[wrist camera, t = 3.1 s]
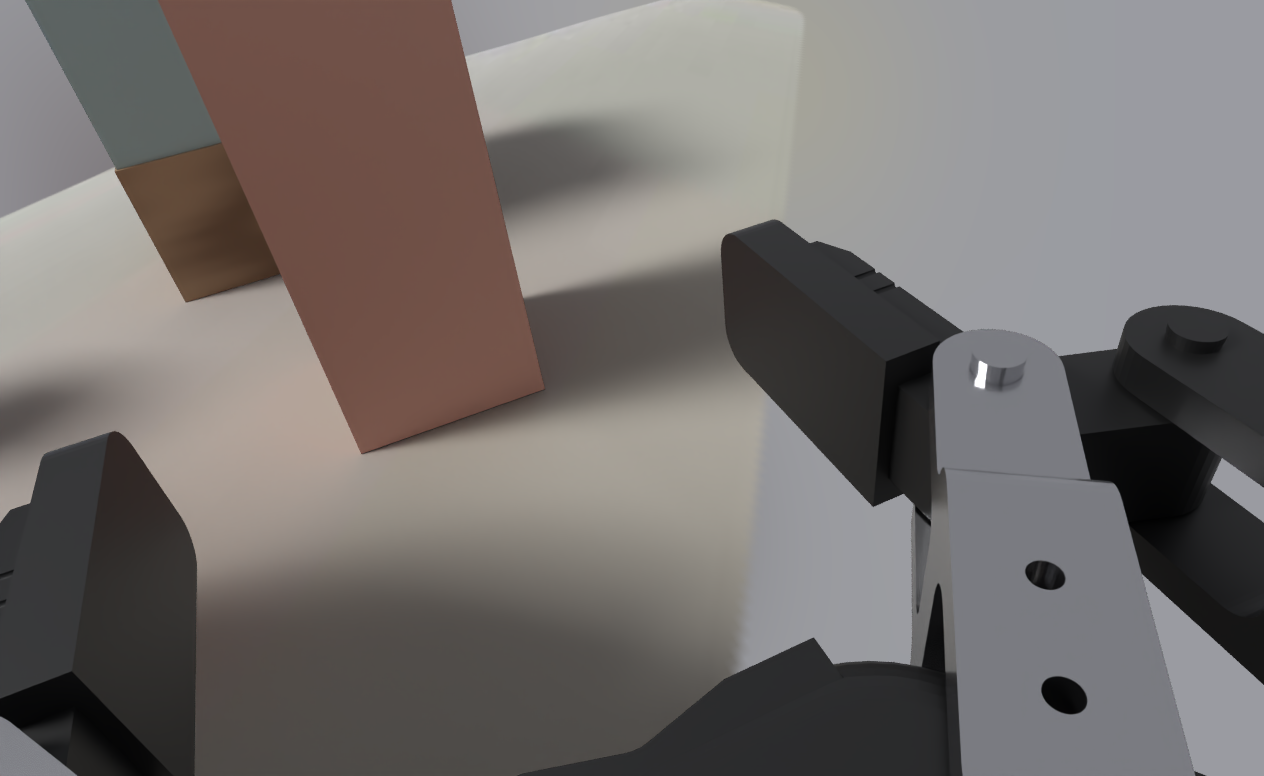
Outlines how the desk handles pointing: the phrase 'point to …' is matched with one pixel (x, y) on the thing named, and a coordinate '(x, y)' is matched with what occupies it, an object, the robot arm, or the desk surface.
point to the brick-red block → (370, 199)
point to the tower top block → (127, 76)
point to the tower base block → (199, 221)
